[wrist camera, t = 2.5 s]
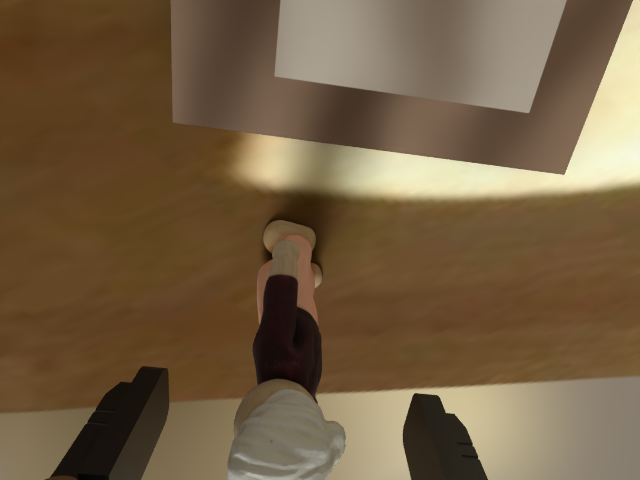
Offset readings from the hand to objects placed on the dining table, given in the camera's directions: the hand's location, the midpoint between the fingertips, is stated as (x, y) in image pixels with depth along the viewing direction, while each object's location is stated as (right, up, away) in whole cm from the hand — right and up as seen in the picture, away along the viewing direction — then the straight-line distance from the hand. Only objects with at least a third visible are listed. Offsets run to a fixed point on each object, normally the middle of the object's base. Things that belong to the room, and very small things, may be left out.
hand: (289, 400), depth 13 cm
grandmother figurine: (0, +4, +9) cm, 10 cm away
